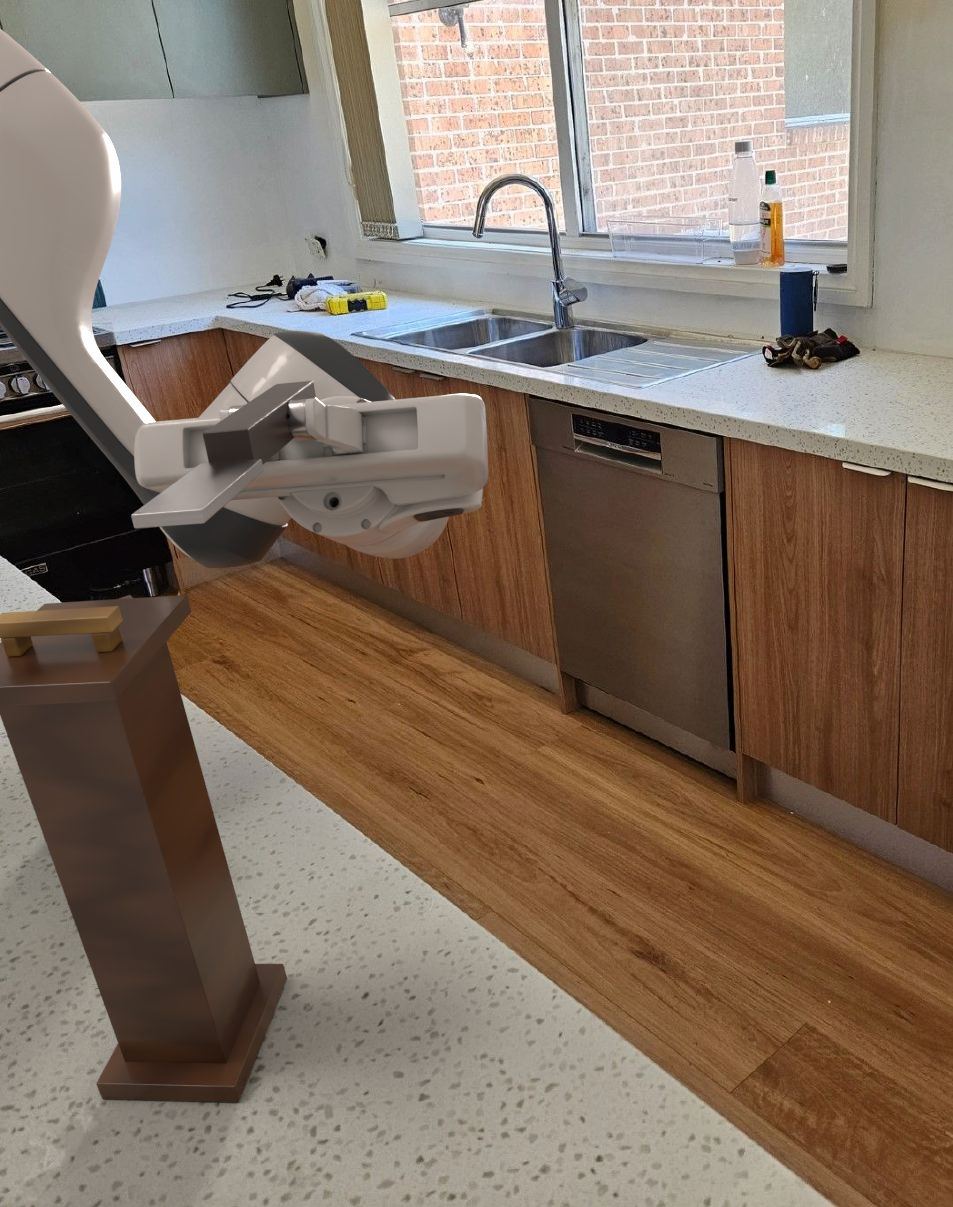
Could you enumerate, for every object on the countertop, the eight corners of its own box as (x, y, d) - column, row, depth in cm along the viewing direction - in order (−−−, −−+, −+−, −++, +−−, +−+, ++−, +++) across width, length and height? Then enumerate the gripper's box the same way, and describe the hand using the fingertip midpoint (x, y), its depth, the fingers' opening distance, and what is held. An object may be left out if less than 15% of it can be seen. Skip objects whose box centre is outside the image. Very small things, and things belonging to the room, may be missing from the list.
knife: (133, 529, 43) (121, 480, 42) (275, 420, 60) (268, 384, 59) (204, 523, 42) (193, 474, 41) (326, 415, 59) (320, 379, 58)
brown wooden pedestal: (101, 1099, 59) (-68, 654, 47) (165, 977, 67) (34, 571, 55) (239, 1102, 58) (99, 645, 46) (287, 978, 66) (179, 562, 54)
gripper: (191, 435, 70) (76, 375, 56) (502, 407, 66) (460, 336, 53) (193, 531, 69) (78, 494, 56) (507, 508, 66) (465, 463, 52)
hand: (267, 417), depth 54 cm, fingers closed on knife, 2 cm apart
